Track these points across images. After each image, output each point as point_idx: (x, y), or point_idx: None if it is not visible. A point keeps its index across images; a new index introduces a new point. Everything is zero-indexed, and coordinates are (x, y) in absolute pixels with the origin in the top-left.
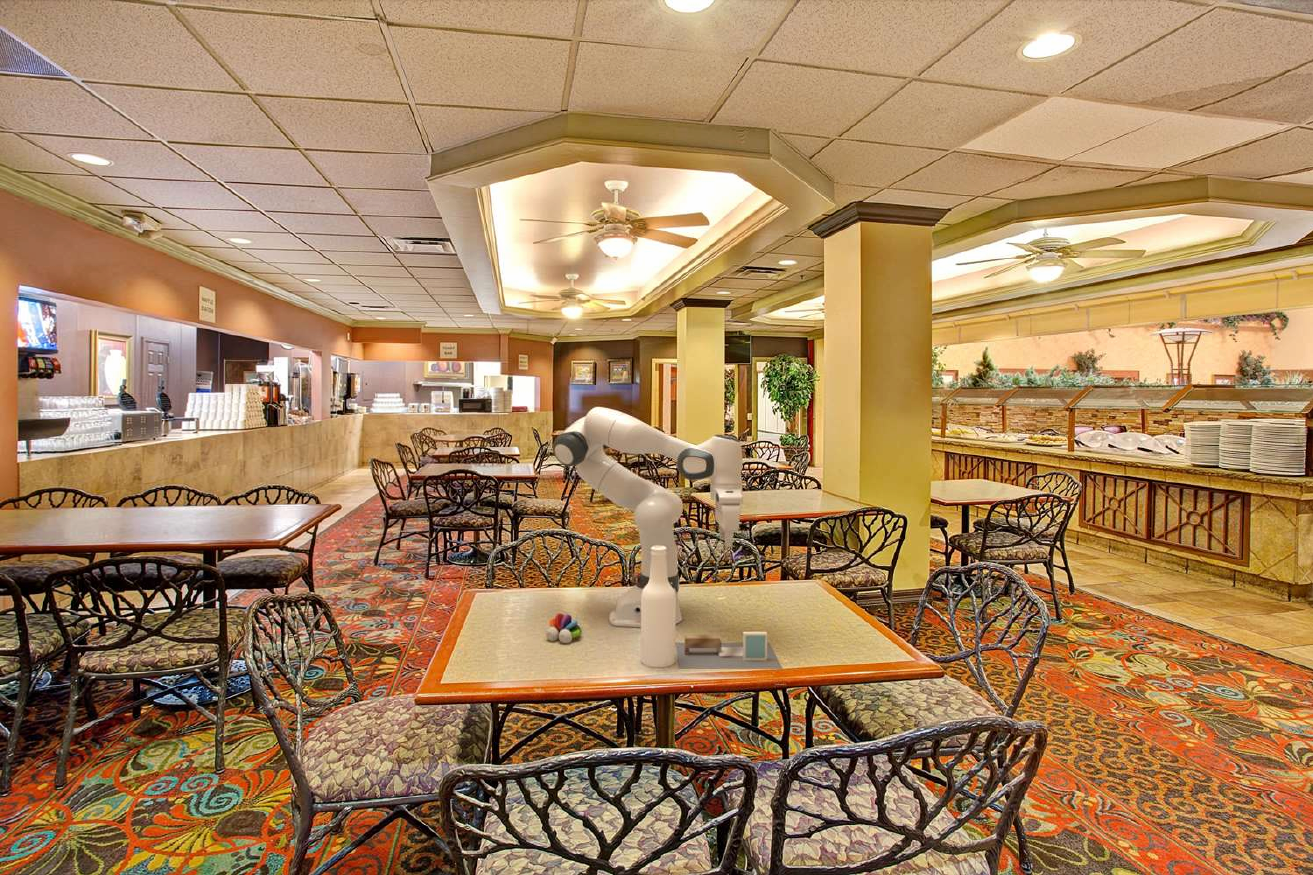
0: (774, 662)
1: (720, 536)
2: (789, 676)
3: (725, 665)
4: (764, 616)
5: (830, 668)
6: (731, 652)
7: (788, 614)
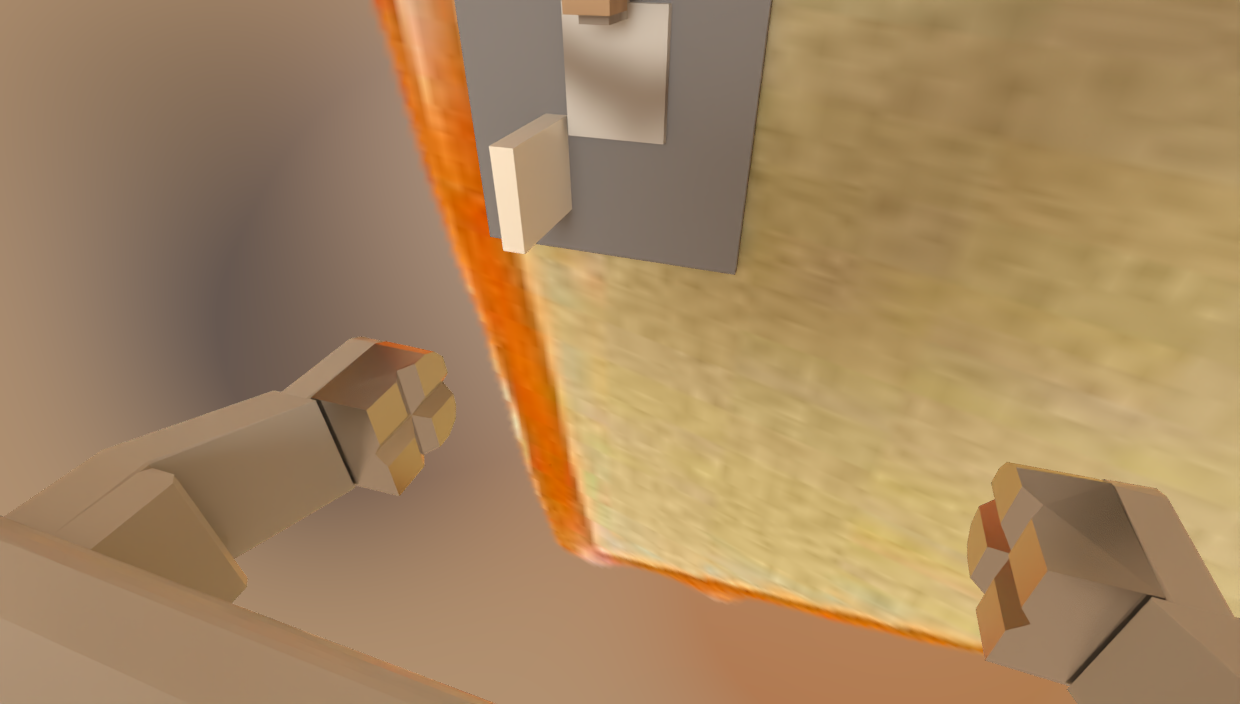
0: None
1: (1096, 515)
2: (458, 239)
3: (486, 16)
4: (1155, 384)
5: (530, 368)
6: (599, 72)
7: None
